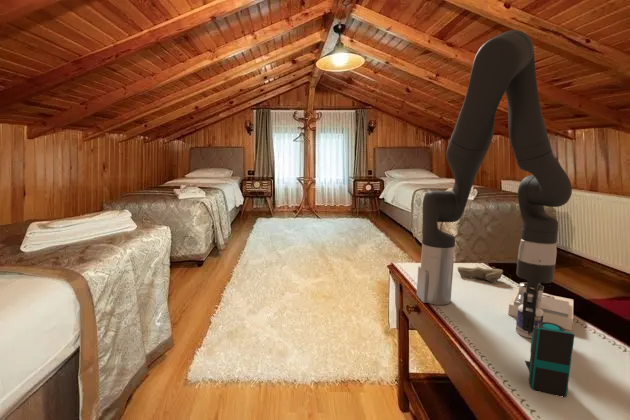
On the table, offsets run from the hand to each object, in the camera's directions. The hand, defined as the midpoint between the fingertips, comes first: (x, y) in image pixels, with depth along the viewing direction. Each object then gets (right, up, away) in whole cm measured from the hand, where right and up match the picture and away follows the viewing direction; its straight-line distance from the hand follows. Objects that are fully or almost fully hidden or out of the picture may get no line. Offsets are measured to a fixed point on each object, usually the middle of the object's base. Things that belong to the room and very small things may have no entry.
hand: (529, 325), depth 82 cm
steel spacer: (+7, +3, +12) cm, 15 cm away
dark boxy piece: (-8, -4, -17) cm, 19 cm away
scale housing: (+11, 0, +13) cm, 17 cm away
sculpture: (+7, +3, +40) cm, 41 cm away
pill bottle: (0, -2, 0) cm, 2 cm away
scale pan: (+10, +2, +10) cm, 15 cm away
